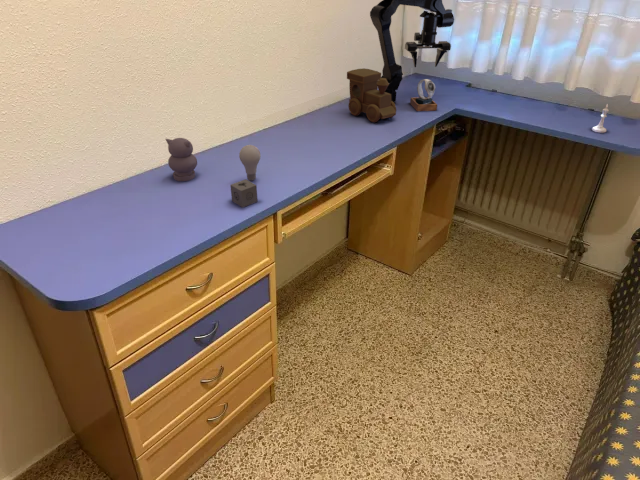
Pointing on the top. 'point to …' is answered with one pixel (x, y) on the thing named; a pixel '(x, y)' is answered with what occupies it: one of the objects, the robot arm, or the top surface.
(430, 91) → the watch
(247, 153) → the lightbulb
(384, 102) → the wooden toy train
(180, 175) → the cat figurine
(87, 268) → the top surface
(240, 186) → the dark grey engraved cube
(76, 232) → the top surface
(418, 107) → the tray
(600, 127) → the chess piece
